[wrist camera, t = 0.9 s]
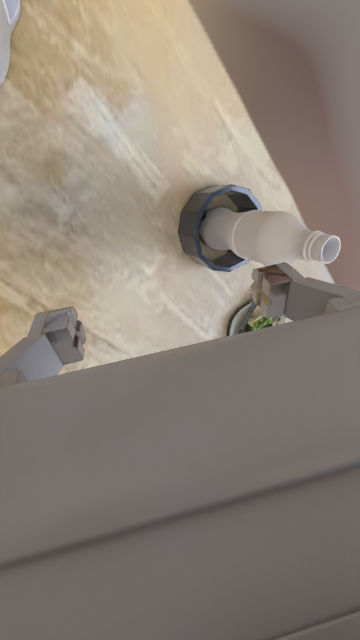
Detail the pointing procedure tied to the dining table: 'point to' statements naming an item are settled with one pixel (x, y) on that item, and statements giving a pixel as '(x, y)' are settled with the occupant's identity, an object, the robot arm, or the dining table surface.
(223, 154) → the dining table surface
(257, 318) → the avocado toast plate
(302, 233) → the water bottle
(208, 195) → the dark grey faceted ring
